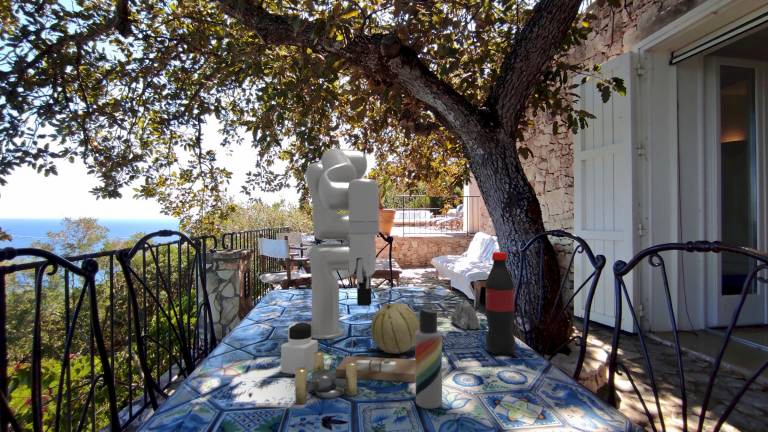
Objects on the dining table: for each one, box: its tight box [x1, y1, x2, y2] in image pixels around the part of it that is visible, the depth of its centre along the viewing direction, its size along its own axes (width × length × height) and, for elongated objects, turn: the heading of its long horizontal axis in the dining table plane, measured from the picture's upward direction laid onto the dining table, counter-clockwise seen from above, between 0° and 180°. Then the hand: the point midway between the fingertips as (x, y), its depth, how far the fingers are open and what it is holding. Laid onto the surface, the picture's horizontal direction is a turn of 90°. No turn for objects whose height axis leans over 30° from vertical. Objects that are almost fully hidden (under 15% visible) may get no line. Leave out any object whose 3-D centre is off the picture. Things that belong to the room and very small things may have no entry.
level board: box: [335, 355, 415, 383], centre depth 102 cm, size 20×10×5 cm, turn 80°
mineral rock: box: [450, 299, 480, 330], centre depth 148 cm, size 13×11×10 cm
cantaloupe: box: [370, 302, 420, 355], centre depth 118 cm, size 15×15×15 cm
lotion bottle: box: [414, 308, 443, 410], centre depth 84 cm, size 6×6×20 cm
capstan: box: [294, 350, 358, 405], centre depth 89 cm, size 12×14×7 cm
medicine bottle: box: [280, 322, 319, 375], centre depth 104 cm, size 7×7×12 cm
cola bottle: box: [484, 251, 516, 356], centre depth 117 cm, size 8×8×30 cm
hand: (364, 304), depth 95 cm, fingers closed
